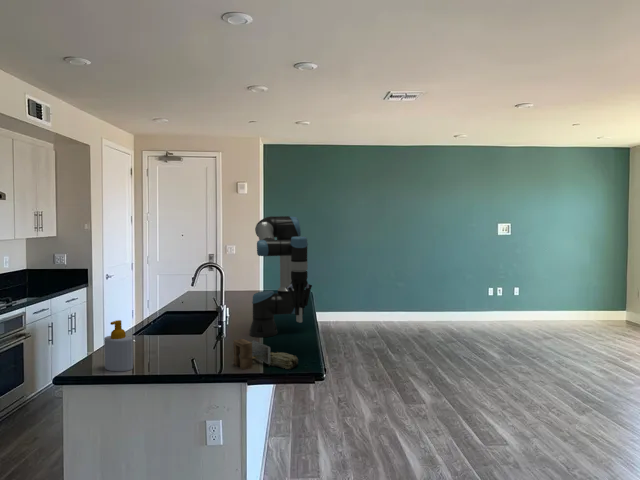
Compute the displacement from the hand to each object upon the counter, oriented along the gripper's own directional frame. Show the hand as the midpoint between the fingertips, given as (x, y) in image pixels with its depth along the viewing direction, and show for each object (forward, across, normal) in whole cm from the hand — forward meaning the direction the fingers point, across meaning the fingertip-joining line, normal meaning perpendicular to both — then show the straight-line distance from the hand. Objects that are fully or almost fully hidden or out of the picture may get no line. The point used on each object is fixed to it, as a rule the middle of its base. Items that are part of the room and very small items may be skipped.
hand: (299, 321), depth 208 cm
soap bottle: (+16, +70, -32) cm, 79 cm away
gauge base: (+16, +23, -5) cm, 29 cm away
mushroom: (+16, +13, +6) cm, 22 cm away
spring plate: (+14, +23, -2) cm, 28 cm away
